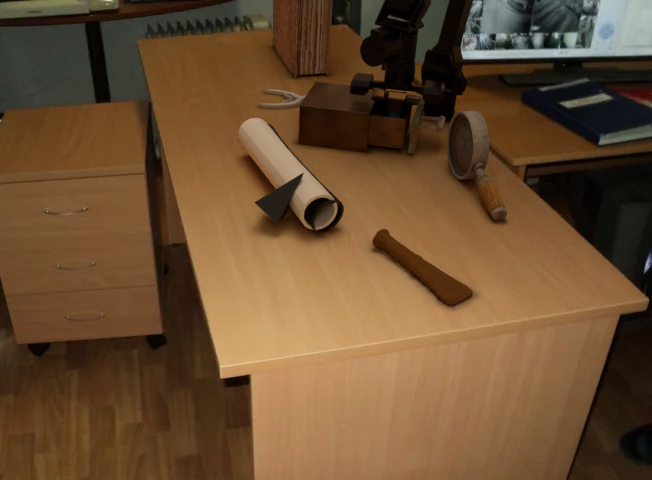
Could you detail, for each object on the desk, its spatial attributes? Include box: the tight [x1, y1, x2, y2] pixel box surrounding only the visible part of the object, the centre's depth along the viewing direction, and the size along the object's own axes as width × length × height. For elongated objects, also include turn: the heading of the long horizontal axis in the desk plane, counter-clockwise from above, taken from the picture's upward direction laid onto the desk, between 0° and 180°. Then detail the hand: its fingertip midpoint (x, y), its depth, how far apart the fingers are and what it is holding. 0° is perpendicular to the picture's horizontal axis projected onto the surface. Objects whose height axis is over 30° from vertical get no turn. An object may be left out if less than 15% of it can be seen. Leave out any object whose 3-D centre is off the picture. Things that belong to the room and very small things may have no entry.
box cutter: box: [390, 112, 401, 118], centre depth 155 cm, size 10×2×3 cm, turn 164°
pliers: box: [259, 88, 307, 109], centre depth 174 cm, size 10×2×15 cm
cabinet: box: [298, 81, 376, 153], centre depth 157 cm, size 15×14×9 cm
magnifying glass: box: [446, 110, 508, 221], centre depth 137 cm, size 13×3×25 cm
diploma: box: [237, 117, 345, 234], centre depth 135 cm, size 35×9×14 cm
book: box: [272, 0, 333, 79], centre depth 188 cm, size 25×9×30 cm, turn 13°
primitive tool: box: [371, 228, 474, 306], centre depth 116 cm, size 19×6×4 cm, turn 39°
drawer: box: [368, 96, 446, 154], centre depth 154 cm, size 18×13×7 cm
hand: (393, 127), depth 155 cm, fingers closed on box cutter, 2 cm apart
